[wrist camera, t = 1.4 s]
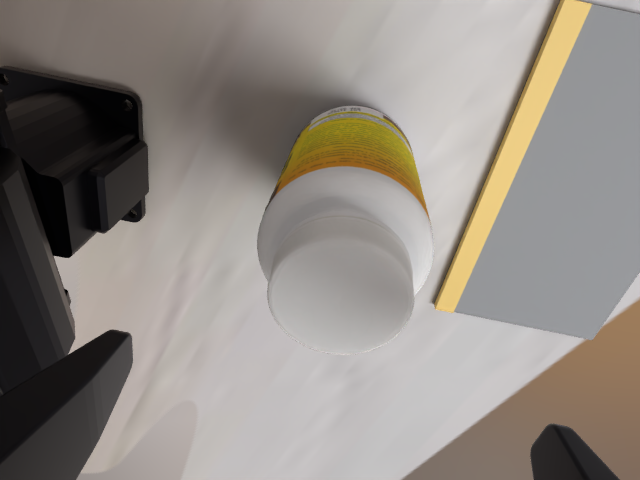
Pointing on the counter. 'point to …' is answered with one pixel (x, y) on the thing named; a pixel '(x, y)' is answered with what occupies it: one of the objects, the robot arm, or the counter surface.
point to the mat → (561, 186)
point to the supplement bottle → (346, 234)
